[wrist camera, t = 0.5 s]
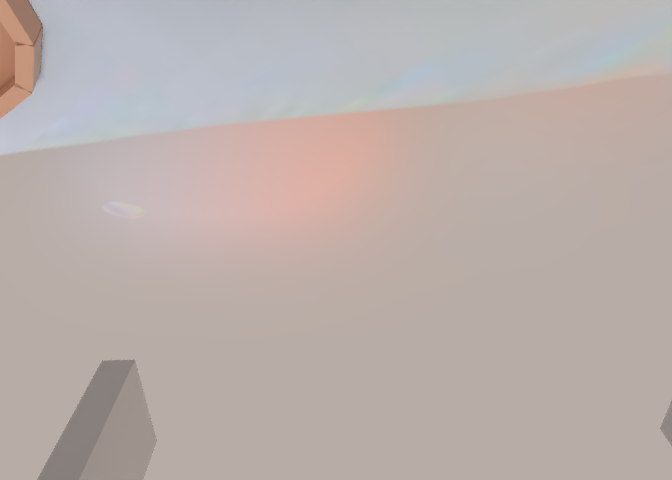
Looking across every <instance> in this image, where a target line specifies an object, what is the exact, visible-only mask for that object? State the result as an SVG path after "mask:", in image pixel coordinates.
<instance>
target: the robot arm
mask: <svg viewBox="0 0 672 480" xmlns="http://www.w3.org/2000/svg"><path fill="white" fill-rule="evenodd" d="M660 429H661V431H662V432H663V433H664V435H665V436H666V438H667V439H668V441H669V442H670V443H671V445H672V401H671V404H670V406H669V409H668V411H667V413H666V416H665V418H664V420H663V423H662V425H661V428H660ZM155 444H156V437H155V433H154V429H153V425H152V421H151V418H150V414H149V411H148V407H147V403H146V399H145V395H144V392H143V388H142V384H141V381H140V377H139V373H138V369H137V366H136V362H135V360H112V361H111V360H110V361H102V362H101V364H100V366H99V367H98V369H97V371H96V373H95V375H94V376H93V378H92V380H91V382H90V384H89V386H88V387H87V389H86V391H85V393H84V395H83V397H82V399H81V400H80V402H79V404H78V406H77V408H76V409H75V411H74V413H73V415H72V417H71V419H70V420H69V422H68V424H67V426H66V428H65V430H64V431H63V433H62V435H61V437H60V439H59V441H58V443H57V444H56V446H55V448H54V450H53V452H52V453H51V455H50V457H49V459H48V461H47V463H46V464H45V466H44V468H43V470H42V472H41V473H40V475H39V477H38V479H37V480H143V479H144V476H145V473H146V470H147V467H148V464H149V461H150V458H151V455H152V453H153V450H154V447H155Z"/></svg>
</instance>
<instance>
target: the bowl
mask: <svg viewBox="0 0 672 480" xmlns="http://www.w3.org/2000/svg"><path fill="white" fill-rule="evenodd" d="M41 25H42V24H41V22H40V20H39V19H38V17H37V15H36V13H35V12H34V10H33V8H32V7H31V5H30V3H29V1H28V0H0V119H1V118H2V117H3V116H4V115H6V114H7V113H8V112H9V111H11V110H12V109H13V108H14V107H16V106H17V105H18V104H19V103H21V102H22V101H23V100H24V99H26V98H27V97H28V96H29V95H31V94H32V92H33V90H34V87H35V84H36V82H37V79H38V77H39V74H40V69H41V49H42V29H43V27H42V26H41Z"/></svg>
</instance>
